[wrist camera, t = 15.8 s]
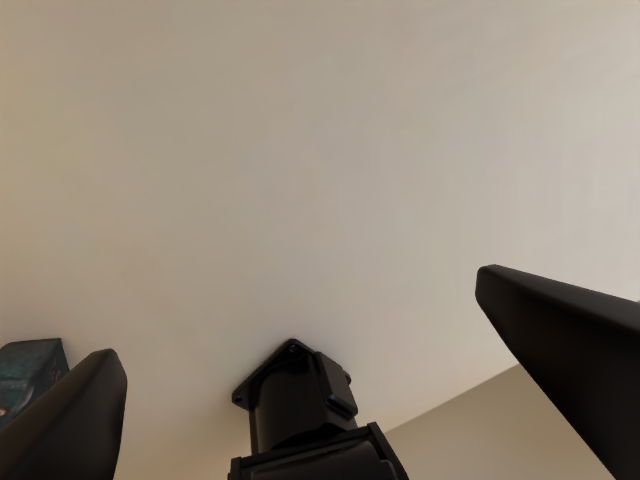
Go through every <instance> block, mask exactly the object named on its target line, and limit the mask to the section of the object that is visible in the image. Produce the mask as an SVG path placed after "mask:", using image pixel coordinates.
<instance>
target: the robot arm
mask: <svg viewBox="0 0 640 480" xmlns="http://www.w3.org/2000/svg"><path fill="white" fill-rule="evenodd" d="M475 297H476V300H477V302H478V304H479V306H480V307H481V309H482V310H483V312H484V313H485V315H486V316H487V318H488V319H489V321H490V322H491V324H492V325H493V327H494V328H495V330H496V331H497V333H498V334H499V336H500V337H501V339H502V340H503V342H504V343H505V344H506V346H507V347H508V349H509V350H510V351H511V353H512V354H513V355H514V356H515V358H516V359H517V360H518V361H519V363H520V364H521V365H522V366H523V367H524V368H525V370H526V371H527V372H528V373H529V375H530V376H531V377H532V378H533V380H534V381H535V382H536V383H537V384H538V386H540V388H541V389H542V391H543V392H544V393H545V394H546V395H547V397H548V398H549V399H550V400H551V401H552V403H553V404H554V405H555V406H556V407H557V409H558V410H559V411H560V412H561V413H562V415H563V416H564V417H565V418H566V420H567V421H568V422H569V423H570V425H571V426H572V427H573V428H574V429H575V431H576V432H577V433H578V434H579V435H580V437H581V438H582V439H583V440H584V441H585V443H586V444H587V445H588V446H589V448H590V449H591V450H592V451H593V452H594V454H595V455H596V456H597V457H598V458H599V460H600V461H601V462H602V464H603V465H604V466H605V467H606V468H607V470H608V471H609V472H610V473H611V474H612V476H613V477H614V478H615V479H616V480H640V303H638V302H634V301H630V300H627V299H623V298H619V297H616V296H612V295H608V294H604V293H601V292H597V291H593V290H589V289H586V288H582V287H578V286H574V285H571V284H567V283H563V282H559V281H556V280H552V279H548V278H545V277H541V276H537V275H533V274H530V273H526V272H522V271H518V270H515V269H511V268H507V267H503V266H500V265H496V264H493V265H488V266H483V267H481V268H479V270H478V272H477V280H476V290H475ZM292 345H295V346H294V347H290V346H292ZM350 383H351V378H350V375H349V374H348V373H346V372H345V371H343V369H342V367H341V366H340V365H339V364H337V363H336V362H334V361H333V360H331V359H330V358H328V357H327V356H325V355H324V354H322V353H321V352H317V351H316V352H315V351H313V350H312V349H310V348H309V347H307V346H306V345H304V344H303V343H301V342H300V341H298V340H297V339H289V340H288V341H286V342H285V343H284V344H283V345H282V346H281V347H280V348H279V349H278V350H277V351H276V352H275V353H274V354H273V355H272V356H271V357H270V358H269V359H268V360H267V361H265V362H264V363H263V364H262V365H261V366H260V367H259V368H258V369H257V370H256V371H255V372H254V373H253V374H252V375H251V376H250V377H249V378H248V379H247V380H246V381H244V382H243V383H242V384H241V385H240V386H239V387H238V388H237V389H236V390H235V391H234V392H233V393H232V403H234V404H235V405H237V406H239V407H241V408H243V409H245V410H247V411H249V422H250V437H251V453H252V455H251V456H247V457H243V458H241V456H240V457H236V458H232V459H231V470H230V473H228V477H227V480H409V478H408V476H407V473H406V472H405V470H404V468H403V466H402V464H401V463H400V461H399V459H398V458H397V456H396V454H395V453H394V451H393V449H392V448H391V446H390V444H389V443H388V442H387V440H386V438H385V436H384V435H383V433H382V431H381V430H380V428H379V426H378V425H377V423H376V422H372V423H368V424H367V426H363V427H359V428H358V426H357V423H356V421H355V418H354V417H355V416H356V415H357V414H358V408H357V405H356V402H355V400H354V397H353V395H352V392H351V390H350V387H349V384H350ZM126 393H127V376H126V373H125V371H124V369H123V367H122V364H121V362H120V360H119V358H118V355H117V353H116V352H115V350H114V349H111V348H109V349H104V350H100V351H95V352H92V353H91V354H89V355H88V356H87V357H86V358H85V359H84V360H82V361H81V362H80V363H79V364H78V365H77V366H75V367H74V368H73V369H72V370H71V371H70V372H68V373H67V374H66V375H65V376H64V377H63V378H61V379H60V380H59V381H58V382H57V383H56V384H54V385H53V386H52V387H51V388H50V389H49V390H47V391H46V392H45V393H44V394H43V395H42V396H40V397H39V398H38V399H37V400H36V401H35V402H33V403H32V404H31V405H30V406H29V407H28V408H26V409H25V410H24V411H23V412H22V413H21V414H19V415H18V416H17V417H16V418H15V419H14V420H12V421H11V422H10V423H9V424H8V425H7V426H5V427H4V428H3V429H2V430H1V431H0V480H113V478H114V473H115V469H116V465H117V460H118V455H119V450H120V443H121V436H122V427H123V419H124V410H125V402H126ZM237 397H240V398H237Z"/></svg>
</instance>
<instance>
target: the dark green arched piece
mask: <svg viewBox="0 0 640 480" xmlns="http://www.w3.org/2000/svg"><path fill="white" fill-rule="evenodd" d="M68 372H69V368H68V365H67V361H66V358H65V354H64V350H63V346H62V342H61V338H57V339H43V340H31V341H20V342H13V343H9V344H7V345H5V346H4V347H2V348H1V349H0V431H1V430H2V429H3V428H4V427H5V426H7V425H8V424H9V423H10V422H11V421H12V420H14V419H15V418H16V417H17V416H18V415H19V414H21V413H22V412H23V411H24V410H25V409H26V408H28V407H29V406H30V405H31V404H32V403H33V402H35V401H36V400H37V399H38V398H39V397H40V396H42V395H43V394H44V393H45V392H46V391H47V390H49V389H50V388H51V387H52V386H53V385H54V384H56V383H57V382H58V381H59V380H60V379H61V378H63V377H64V376H65V375H66V374H67V373H68Z"/></svg>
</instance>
